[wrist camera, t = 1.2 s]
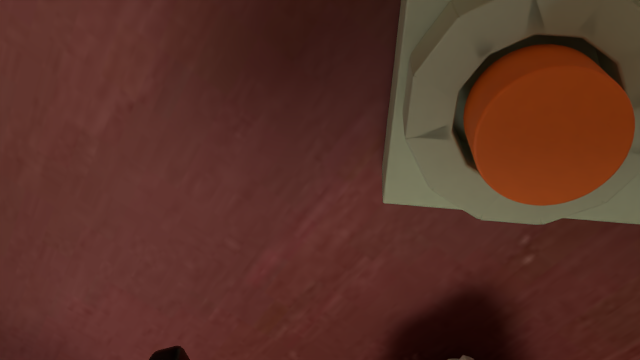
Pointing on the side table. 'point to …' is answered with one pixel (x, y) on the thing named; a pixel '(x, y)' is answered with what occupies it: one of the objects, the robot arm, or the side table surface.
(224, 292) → the side table surface
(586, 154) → the button
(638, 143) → the push button box
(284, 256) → the side table surface
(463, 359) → the white and red lump
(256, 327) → the side table surface
